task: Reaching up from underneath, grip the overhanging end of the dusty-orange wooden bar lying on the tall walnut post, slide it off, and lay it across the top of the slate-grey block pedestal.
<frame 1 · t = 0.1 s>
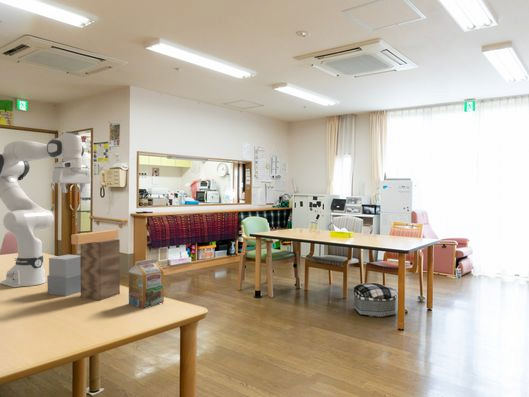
hand: (72, 192, 198), 48 cm above the table, tool pointing down, fingers open, 8 cm apart
slate pedestal: (67, 291, 194), on the table
milk carton: (146, 303, 175), on the table
walnut post: (100, 295, 188), on the table
orange bar: (96, 240, 185), point 26 cm above the table, touching walnut post
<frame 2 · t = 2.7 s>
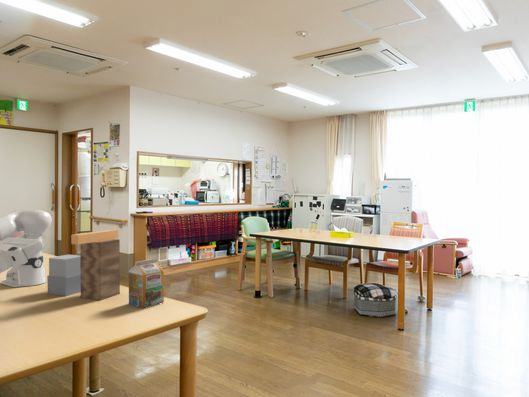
hand: (35, 235, 160), 31 cm above the table, tool pointing upward, fingers open, 8 cm apart
nothing on the table moved.
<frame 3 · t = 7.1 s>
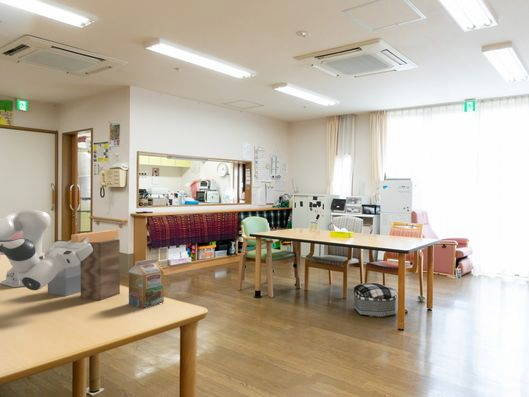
hand: (82, 238, 178), 28 cm above the table, tool pointing upward, fingers closed on orange bar, 4 cm apart
orange bar: (96, 240, 185), point 26 cm above the table, touching gripper, walnut post
everything else where it was.
when the fingers open (20 cm above the table, at t = 15.6 s): orange bar stays where it is, resting on slate pedestal.
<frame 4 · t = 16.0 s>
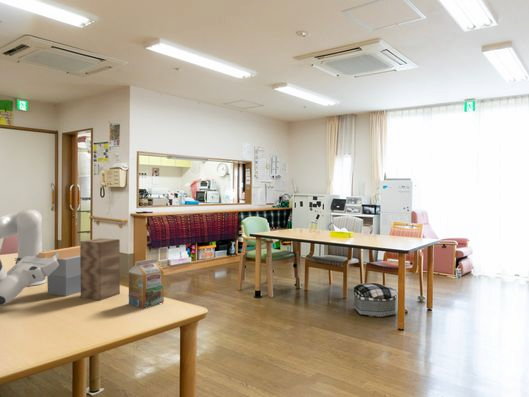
hand: (50, 253, 185), 20 cm above the table, tool pointing upward, fingers open, 8 cm apart
orange bar: (64, 257, 192), point 17 cm above the table, touching slate pedestal
everything else where it was.
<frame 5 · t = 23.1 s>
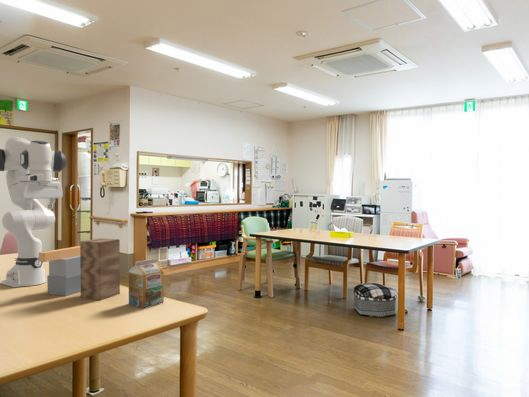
hand: (41, 209, 176), 41 cm above the table, tool pointing down, fingers open, 8 cm apart
nothing on the table moved.
at the end: orange bar inside the target area on the slate pedestal (0.6 cm from its centre), point 17.0 cm above the slate pedestal's base; orange bar tilted 0°; the gripper is holding nothing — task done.
